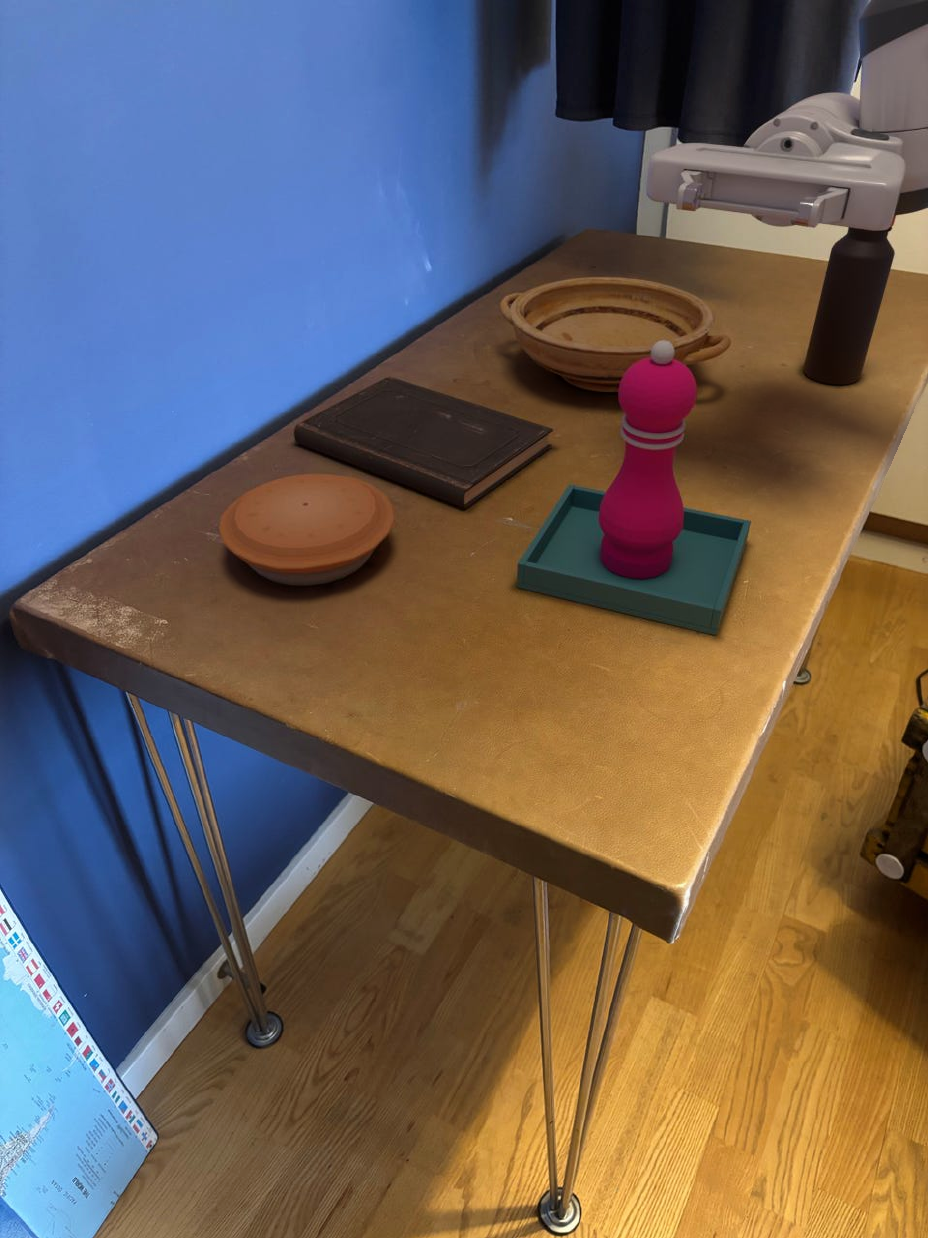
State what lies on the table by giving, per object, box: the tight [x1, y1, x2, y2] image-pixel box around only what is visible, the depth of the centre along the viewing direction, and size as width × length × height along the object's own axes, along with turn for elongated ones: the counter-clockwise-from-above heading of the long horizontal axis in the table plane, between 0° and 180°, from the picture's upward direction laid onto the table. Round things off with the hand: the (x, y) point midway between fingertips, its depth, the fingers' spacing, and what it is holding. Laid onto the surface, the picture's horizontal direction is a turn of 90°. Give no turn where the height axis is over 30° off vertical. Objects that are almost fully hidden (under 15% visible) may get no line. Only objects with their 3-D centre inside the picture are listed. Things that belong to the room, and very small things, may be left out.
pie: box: [218, 473, 396, 587], centre depth 82 cm, size 16×16×5 cm
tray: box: [516, 484, 752, 636], centre depth 81 cm, size 17×14×3 cm
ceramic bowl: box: [499, 276, 732, 393], centre depth 111 cm, size 30×24×8 cm
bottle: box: [803, 215, 897, 386], centre depth 106 cm, size 7×7×20 cm
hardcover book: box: [293, 376, 554, 510], centre depth 98 cm, size 16×23×2 cm
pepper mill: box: [598, 340, 698, 579], centre depth 75 cm, size 7×7×20 cm
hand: (744, 207), depth 70 cm, fingers open, 8 cm apart
